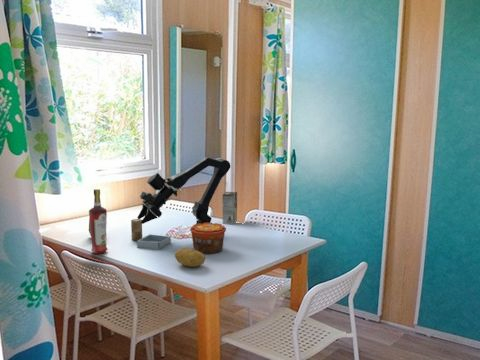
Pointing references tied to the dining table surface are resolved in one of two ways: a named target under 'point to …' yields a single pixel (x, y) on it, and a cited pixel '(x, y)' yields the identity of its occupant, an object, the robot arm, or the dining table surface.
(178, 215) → the dining table surface
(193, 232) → the food container
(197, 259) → the potato
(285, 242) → the dining table surface
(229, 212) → the coffee box
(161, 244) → the bin
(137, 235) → the walnut cylinder
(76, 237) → the dining table surface
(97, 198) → the liquor
